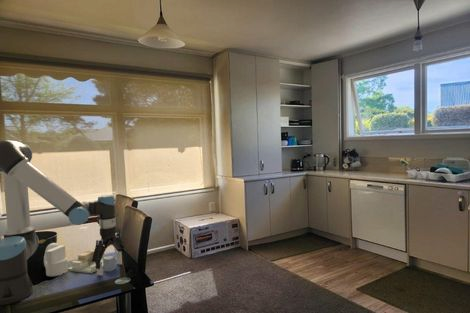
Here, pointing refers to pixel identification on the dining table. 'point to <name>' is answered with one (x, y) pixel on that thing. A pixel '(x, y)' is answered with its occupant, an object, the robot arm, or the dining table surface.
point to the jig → (84, 266)
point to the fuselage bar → (86, 256)
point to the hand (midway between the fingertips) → (110, 269)
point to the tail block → (109, 263)
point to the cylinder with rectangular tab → (56, 261)
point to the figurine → (49, 249)
